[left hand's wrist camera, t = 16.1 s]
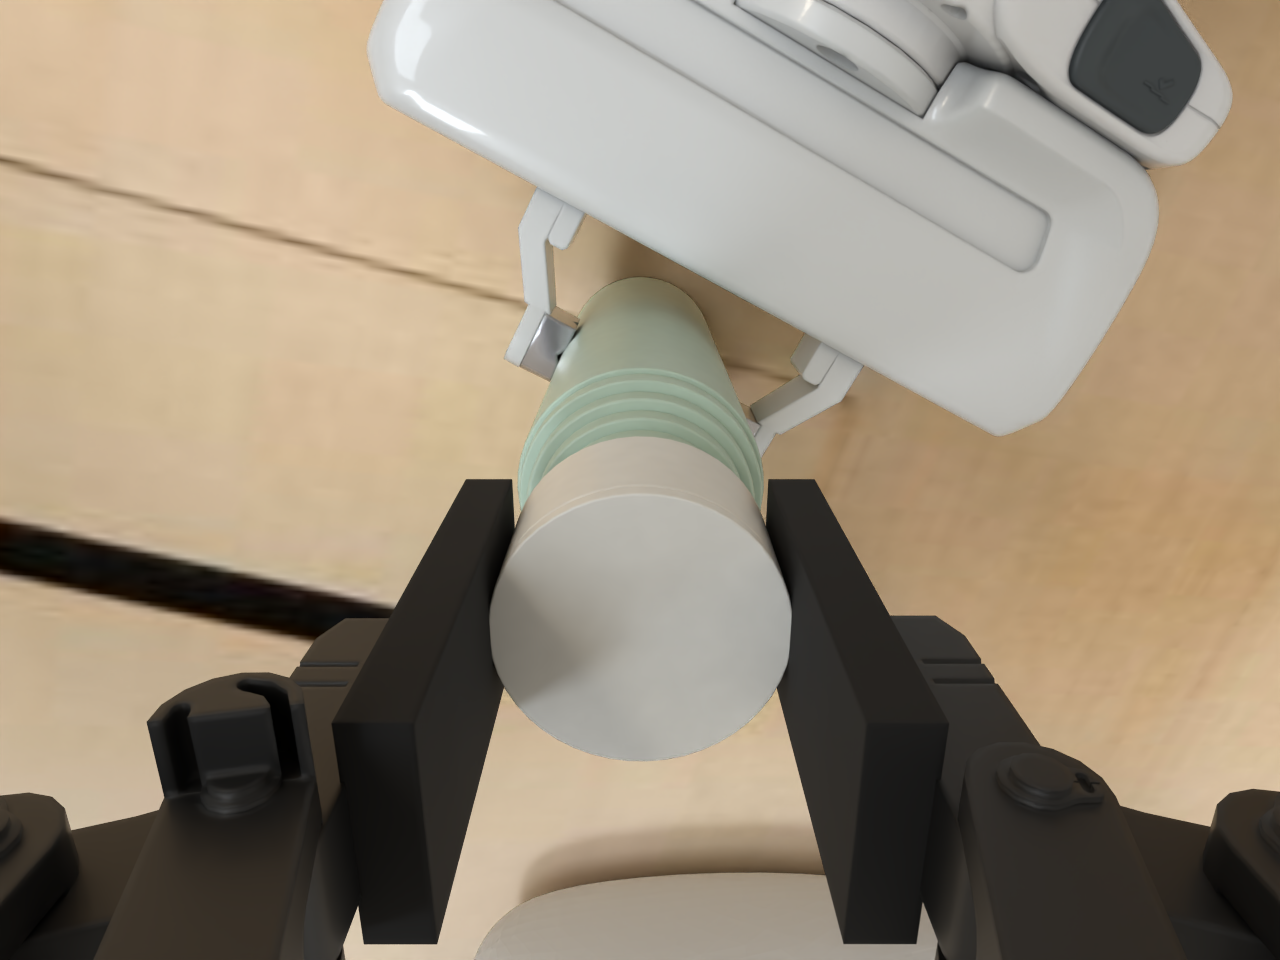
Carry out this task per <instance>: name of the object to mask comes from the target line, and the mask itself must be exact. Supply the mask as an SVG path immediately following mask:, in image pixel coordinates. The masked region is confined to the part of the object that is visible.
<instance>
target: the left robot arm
mask: <svg viewBox="0 0 1280 960" xmlns="http://www.w3.org/2000/svg"><path fill="white" fill-rule="evenodd" d="M766 529H767V532H768V534H769V537H770V540H771V543H772V546H773V549H774V552H775V555H776V558H777V561H778V564H779V566H780V569H781V572H782V575H783V578H784V581H785V584H786V587H787V590H788V593H789V596H790V601H791V606H792V618H791V633H790V648H789V660H788V664H787V667H786V669H785V672H784V674H783V676H782V679H781V681H780V683H779V684H778V686H777V691H778V694H779V698H780V702H781V706H782V710H783V714H784V717H785V721H786V725H787V729H788V733H789V737H790V740H791V744H792V748H793V752H794V756H795V760H796V764H797V767H798V771H799V775H800V779H801V783H802V787H803V790H804V794H805V798H806V802H807V806H808V810H809V813H810V817H811V821H812V825H813V829H814V833H815V837H816V840H817V844H818V848H819V852H820V856H821V860H822V863H823V867H824V871H825V875H826V879H827V883H828V886H829V890H830V894H831V898H832V902H833V906H834V910H835V913H836V917H837V921H838V925H839V929H840V933H841V936H842V940H843V944H917V938H918V931H919V924H920V918H921V911H922V904H924V906H925V909H926V912H927V914H928V917H929V919H930V922H931V925H932V927H933V930H934V932H935V935H936V938H937V940H938V942H937V948H936V955H935V960H1280V792H1277V791H1268V790H1258V789H1250V790H1244V791H1239V792H1233V793H1229V794H1228V795H1227V796H1226V797H1225V798H1224V799H1223V800H1222V801H1220V802H1219V803H1218V804H1217V807H1216V810H1215V814H1214V817H1213V821H1212V824H1211V827H1208V826H1204V825H1199V824H1194V823H1190V822H1185V821H1181V820H1176V819H1171V818H1167V817H1162V816H1157V815H1153V814H1148V813H1144V812H1140V811H1137V810H1133V809H1130V808H1126V807H1123V806H1120V805H1119V803H1118V801H1117V798H1116V796H1115V795H1114V793H1113V792H1112V791H1111V789H1110V788H1109V787H1108V785H1107V784H1106V782H1105V781H1104V780H1103V778H1102V777H1100V776H1099V775H1098V774H1096V773H1095V772H1094V771H1092V770H1091V769H1090V768H1088V767H1087V766H1086V765H1084V764H1083V763H1082V762H1080V761H1078V760H1076V759H1074V758H1072V757H1070V756H1067V755H1065V754H1063V753H1061V752H1058V751H1056V750H1054V749H1051V748H1046V747H1042V746H1040V744H1039V743H1038V741H1037V740H1036V738H1035V737H1034V736H1033V734H1032V733H1031V731H1030V730H1029V728H1028V727H1027V725H1026V724H1025V723H1024V721H1023V720H1022V718H1021V717H1020V715H1019V714H1018V712H1017V711H1016V709H1015V708H1014V707H1013V705H1012V704H1011V702H1010V701H1009V699H1008V698H1007V696H1006V695H1005V693H1004V692H1003V691H1002V689H1001V688H1000V686H999V685H998V684H995V682H994V677H993V676H992V675H991V673H990V672H989V670H988V669H987V667H986V666H985V664H981V659H980V657H979V656H978V654H977V653H976V651H975V650H974V648H973V647H972V646H971V644H970V643H969V641H968V640H967V638H966V637H965V636H964V635H963V634H961V633H960V632H959V631H957V630H956V629H954V628H953V627H951V626H950V625H948V624H947V623H945V622H944V621H942V620H941V619H939V618H938V617H937V616H890V615H889V613H888V611H887V610H886V608H885V606H884V604H883V602H882V601H881V599H880V597H879V595H878V593H877V591H876V590H875V588H874V586H873V584H872V582H871V581H870V579H869V577H868V575H867V573H866V572H865V570H864V568H863V566H862V564H861V563H860V561H859V559H858V557H857V555H856V554H855V552H854V550H853V548H852V546H851V544H850V543H849V541H848V539H847V537H846V535H845V534H844V532H843V530H842V528H841V526H840V525H839V523H838V521H837V519H836V517H835V516H834V514H833V512H832V510H831V508H830V506H829V505H828V503H827V501H826V499H825V497H824V496H823V494H822V492H821V490H820V488H819V487H818V485H817V483H816V481H815V479H768V498H767V516H766ZM514 530H515V524H514V506H513V487H512V479H466V480H465V482H464V484H463V486H462V488H461V489H460V491H459V493H458V495H457V497H456V498H455V500H454V502H453V504H452V506H451V508H450V509H449V511H448V513H447V515H446V517H445V518H444V520H443V522H442V524H441V526H440V527H439V529H438V531H437V533H436V535H435V536H434V538H433V540H432V542H431V544H430V546H429V547H428V549H427V551H426V553H425V555H424V556H423V558H422V560H421V562H420V564H419V565H418V567H417V569H416V571H415V573H414V574H413V576H412V578H411V580H410V582H409V584H408V585H407V587H406V589H405V591H404V593H403V594H402V596H401V598H400V600H399V602H398V603H397V605H396V607H395V609H394V611H393V612H392V614H391V616H390V618H345V619H344V620H343V621H341V622H340V623H338V624H337V625H335V626H334V627H332V628H331V629H329V630H328V631H327V632H325V633H324V634H322V635H321V636H319V637H318V638H316V640H315V641H314V643H313V644H312V646H311V647H310V648H309V650H308V651H307V653H306V654H305V656H304V657H303V659H302V660H301V662H300V667H296V669H295V670H294V672H293V673H292V675H291V676H290V678H288V677H284V676H280V675H276V674H273V673H239V674H234V675H229V676H224V677H219V678H214V679H211V680H209V681H206V682H203V683H201V684H198V685H196V686H193V687H191V688H188V689H186V690H184V691H182V692H181V693H179V694H178V695H176V696H174V697H173V698H171V699H170V700H168V701H167V702H165V703H164V704H162V705H161V706H160V707H159V708H158V709H157V711H156V712H155V713H154V714H153V715H152V716H151V718H150V719H149V720H148V721H147V726H148V730H149V734H150V738H151V742H152V747H153V751H154V755H155V759H156V764H157V768H158V772H159V776H160V780H161V785H162V789H163V793H164V800H163V802H162V804H161V807H160V809H159V810H157V811H154V812H150V813H147V814H143V815H139V816H136V817H131V818H127V819H122V820H117V821H113V822H108V823H104V824H99V825H94V826H90V827H85V828H81V829H76V830H71V829H70V825H69V822H68V818H67V815H66V811H65V808H64V807H63V806H62V805H60V804H59V803H58V802H57V801H56V800H55V799H54V798H53V797H50V796H44V795H39V794H33V793H21V794H12V795H3V796H0V960H345V955H344V948H343V944H344V941H345V938H346V936H347V933H348V931H349V928H350V925H351V923H352V920H353V917H354V915H355V912H356V910H357V907H359V914H360V921H361V927H362V934H363V941H364V944H437V942H438V939H439V935H440V931H441V927H442V923H443V919H444V915H445V912H446V908H447V904H448V900H449V896H450V892H451V889H452V885H453V881H454V877H455V873H456V869H457V866H458V862H459V858H460V854H461V850H462V846H463V842H464V839H465V835H466V831H467V827H468V823H469V819H470V816H471V812H472V808H473V804H474V800H475V796H476V792H477V789H478V785H479V781H480V777H481V773H482V769H483V766H484V762H485V758H486V754H487V750H488V746H489V743H490V739H491V735H492V731H493V727H494V723H495V719H496V716H497V712H498V708H499V704H500V700H501V696H502V693H503V689H504V685H503V683H502V681H501V679H500V677H499V675H498V673H497V670H496V668H495V665H494V662H493V659H492V651H491V638H490V623H489V608H490V603H491V599H492V595H493V591H494V587H495V585H496V582H497V579H498V576H499V573H500V570H501V567H502V564H503V562H504V559H505V556H506V553H507V550H508V547H509V544H510V541H511V539H512V536H513V533H514Z"/></svg>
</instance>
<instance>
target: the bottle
mask: <svg viewBox="0 0 1280 960" xmlns="http://www.w3.org/2000/svg"><path fill="white" fill-rule="evenodd" d="M577 318H579V319H580V321H579V324H578V326H577V329H576V331H575V333H574V335H573V337H572V339H571V341H570V343H569V345H568V346H567V348H566V350H565V351H564V352H563V353H562V355H561V358H560V360H559V363H558V365H557V367H556V370H555V372H554V374H553V377H552V379H551V382H550V384H549V386H548V389H547V391H546V394H545V396H544V398H543V401H542V403H541V406H540V408H539V410H538V413H537V415H536V418H535V420H534V422H533V425H532V427H531V430H530V432H529V434H528V437H527V439H526V442H525V445H524V448H523V451H522V454H521V457H520V463H519V470H518V494H519V503H520V508H521V511H522V509H523V507H524V504H525V502H526V501H527V499H528V497H529V496H530V494H531V492H532V491H533V489H534V488H535V487H536V486H537V484H538V483H539V482H540V481H541V480H542V478H543V477H544V476H545V475H546V474H547V473H548V472H549V471H551V470H552V469H553V468H554V467H555V466H556V465H557V464H559V463H560V462H562V461H563V460H565V459H566V458H567V457H569V456H571V455H572V454H574V453H576V452H578V451H580V450H582V449H584V448H586V447H589V446H592V445H594V444H597V443H600V442H603V441H608V440H612V439H617V438H625V437H634V436H639V437H657V438H664V439H671V440H674V441H678V442H681V443H685V444H688V445H690V446H693V447H695V448H697V449H700V450H702V451H704V452H706V453H707V454H709V455H711V456H712V457H714V458H716V459H717V460H719V461H720V462H721V463H723V464H724V465H725V466H726V467H728V468H729V469H730V470H731V471H732V472H733V473H734V474H735V475H736V476H737V477H738V478H739V479H740V480H741V481H742V482H743V483H744V485H745V486H746V487H747V489H748V490H749V492H750V493H751V494H752V496H753V498H754V500H755V502H756V503H757V505H758V507H759V509H760V511H761V504H762V498H763V490H764V475H763V467H762V461H761V456H760V453H759V450H758V446H757V443H756V441H755V438H754V436H753V434H752V431H751V429H750V426H749V424H748V422H747V419H746V417H745V414H744V412H743V410H742V407H741V405H740V402H739V400H738V398H737V395H736V393H735V390H734V388H733V386H732V383H731V381H730V378H729V376H728V374H727V371H726V369H725V366H724V364H723V362H722V359H721V357H720V354H719V352H718V350H717V347H716V345H715V342H714V340H713V338H712V335H711V333H710V330H709V328H708V326H707V323H706V321H705V319H704V316H703V314H702V312H701V311H700V309H699V308H698V306H697V305H696V304H695V302H694V301H693V300H692V299H691V298H690V297H689V296H688V295H687V294H686V293H685V292H683V291H682V290H680V289H679V288H678V287H676V286H674V285H672V284H670V283H668V282H665V281H662V280H659V279H654V278H648V277H633V278H627V279H622V280H619V281H616V282H613V283H611V284H609V285H607V286H605V287H604V288H602V289H601V290H600V291H598V292H597V293H596V294H595V295H593V296H592V297H591V298H590V299H589V301H588V302H587V303H586V304H585V305H584V307H583V308H582V310H581V311H580V313H579V315H578V317H577Z"/></svg>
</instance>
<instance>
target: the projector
mask: <svg viewBox="0 0 1280 960" xmlns="http://www.w3.org/2000/svg"><path fill="white" fill-rule="evenodd" d="M937 942H938V940H937V938H936V935H935V932H934V930H933V927H932V925H931V922H930V919H929V917H928V914H927V912H926V909H925V906H924V904H922V911H921V918H920V924H919V931H918V938H917V944H843V940H842V936H841V933H840V929H839V925H838V921H837V917H836V913H835V910H834V906H833V902H832V898H831V894H830V890H829V886H828V883H827V879H826V875H813V874H793V873H704V874H681V875H667V876H653V877H641V878H631V879H622V880H612V881H605V882H598V883H592V884H585V885H580V886H575V887H570V888H566V889H561V890H557V891H553V892H550V893H547V894H544V895H541V896H538V897H535V898H532V899H530V900H528V901H526V902H524V903H522V904H520V905H519V906H517V907H515V908H514V909H512V910H511V911H510V912H508V913H507V914H506V915H505V916H504V917H502V918H501V919H500V920H499V921H498V922H497V923H496V924H495V925H494V926H493V928H492V929H491V930H490V931H489V933H488V934H487V936H486V937H485V938H484V940H483V942H482V944H481V946H480V947H479V949H478V952H477V954H476V956H475V959H474V960H935V955H936V948H937Z"/></svg>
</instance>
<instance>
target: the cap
mask: <svg viewBox="0 0 1280 960" xmlns="http://www.w3.org/2000/svg"><path fill="white" fill-rule="evenodd" d="M791 618H792V606H791V601H790V596H789V593H788V590H787V587H786V584H785V581H784V578H783V575H782V572H781V569H780V566H779V564H778V561H777V558H776V555H775V552H774V549H773V546H772V543H771V540H770V537H769V534H768V532H767V529H766V526H765V523H764V520H763V517H762V515H761V512H760V509H759V507H758V505H757V503H756V502H755V500H754V498H753V496H752V494H751V493H750V492H749V490H748V489H747V487H746V486H745V485H744V483H743V482H742V481H741V480H740V479H739V478H738V477H737V476H736V475H735V474H734V473H733V472H732V471H731V470H730V469H729V468H728V467H726V466H725V465H724V464H723V463H721V462H720V461H719V460H717V459H716V458H714V457H712V456H711V455H709V454H707V453H706V452H704V451H702V450H700V449H697V448H695V447H693V446H690V445H688V444H685V443H681V442H678V441H674V440H671V439H664V438H657V437H639V436H634V437H625V438H617V439H612V440H608V441H603V442H600V443H597V444H594V445H592V446H589V447H586V448H584V449H582V450H580V451H578V452H576V453H574V454H572V455H571V456H569V457H567V458H566V459H565V460H563V461H562V462H560V463H559V464H557V465H556V466H555V467H554V468H553V469H552V470H551V471H549V472H548V473H547V474H546V475H545V476H544V477H543V478H542V480H541V481H540V482H539V483H538V484H537V486H536V487H535V488H534V489H533V491H532V492H531V494H530V496H529V497H528V499H527V501H526V502H525V504H524V507H523V509H522V511H521V514H520V516H519V518H518V521H517V524H516V527H515V530H514V533H513V536H512V539H511V541H510V544H509V547H508V550H507V553H506V556H505V559H504V562H503V564H502V567H501V570H500V573H499V576H498V579H497V582H496V585H495V587H494V591H493V595H492V599H491V603H490V608H489V623H490V638H491V651H492V659H493V662H494V665H495V668H496V670H497V673H498V675H499V677H500V679H501V681H502V683H503V685H504V687H505V689H506V691H507V692H508V694H509V695H510V696H511V698H512V699H513V701H514V702H515V704H516V705H517V706H518V707H519V708H520V709H521V710H522V712H523V713H524V714H525V715H526V716H527V717H528V718H529V719H530V720H531V721H533V722H534V723H535V724H536V725H537V726H539V727H540V728H541V729H542V730H544V731H545V732H547V733H548V734H550V735H551V736H553V737H554V738H556V739H557V740H559V741H561V742H563V743H565V744H567V745H569V746H571V747H573V748H576V749H579V750H581V751H584V752H587V753H590V754H593V755H597V756H601V757H605V758H610V759H617V760H625V761H655V760H666V759H671V758H676V757H681V756H685V755H688V754H691V753H695V752H698V751H701V750H703V749H706V748H708V747H710V746H712V745H715V744H717V743H719V742H720V741H722V740H724V739H726V738H727V737H729V736H731V735H732V734H734V733H735V732H737V731H738V730H739V729H740V728H742V727H743V726H744V725H746V724H747V723H748V722H749V721H750V720H751V719H752V718H753V717H754V716H755V715H756V714H757V713H758V712H759V711H760V710H761V709H762V708H763V707H764V705H765V704H766V703H767V701H768V700H769V699H770V698H771V696H772V695H773V693H774V691H775V690H776V688H777V686H778V684H779V683H780V681H781V679H782V676H783V674H784V672H785V669H786V667H787V664H788V660H789V648H790V633H791Z"/></svg>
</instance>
